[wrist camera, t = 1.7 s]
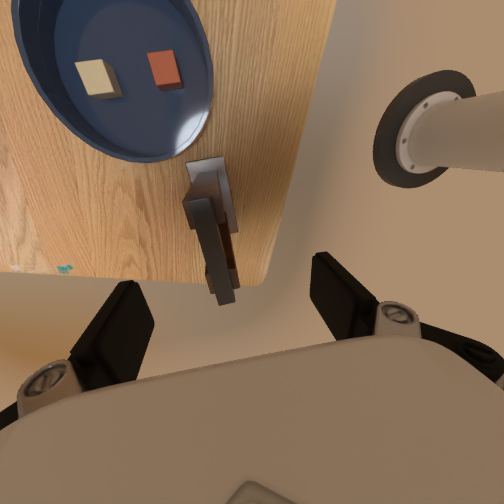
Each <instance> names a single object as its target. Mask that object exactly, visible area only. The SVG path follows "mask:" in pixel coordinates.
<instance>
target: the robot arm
mask: <svg viewBox="0 0 504 504" xmlns="http://www.w3.org/2000/svg"><path fill="white" fill-rule="evenodd" d="M395 151H396V158H397V161H398V163H399V165H400V166H401V168H403V169H404V170H405V171H407V172H410V173H419V174H421V173H426V172H429V171H431V170H433V169H435V168H437V167H438V166H440V167H451V168H462V169H473V170H485V171H495V172H504V91H502V92H496V93H491V94H486V95H481V96H475V97H470V98H465V99H462V98H461V97H460V96H459V95H458V94H456V93H454V92H450V91H444V92H439V93H435V94H432V95H430V96H428V97H426V98H425V99H423V100H421V101H420V102H419V103H418V104H417V105H416V106H415V107H414V108H413V109H412V110H411V111H410V112H409V114H408V115H407V117H406V118H405V120H404V122H403V124H402V126H401V128H400V130H399V133H398V136H397V140H396V150H395ZM310 298H311V300H312V302H313V304H314V305H315V307H316V309H317V310H318V312H319V313H320V315H321V316H322V318H323V320H324V321H325V323H326V325H327V326H328V328H329V329H330V331H331V333H332V334H333V336H334V338H335V339H336V341H334V342H328V343H323V344H317V345H312V346H306V347H301V348H296V349H291V350H285V351H280V352H275V353H269V354H265V355H260V356H254V357H249V358H244V359H239V360H234V361H229V362H224V363H219V364H213V365H208V366H203V367H198V368H193V369H188V370H184V371H178V372H174V373H169V374H164V375H159V376H154V377H149V378H144V379H139V380H136V379H137V376H138V373H139V370H140V366H141V364H142V361H143V358H144V355H145V352H146V349H147V346H148V343H149V340H150V337H151V334H152V331H153V329H154V319H153V317H152V314H151V312H150V310H149V307H148V305H147V302H146V300H145V298H144V295H143V293H142V291H141V288H140V286H139V284H138V283H137V282H134V281H133V280H129V281H122V282H119V283H118V285H117V286H116V287H115V289H114V290H113V292H112V293H111V294H110V296H109V297H108V299H107V300H106V301H105V303H104V304H103V306H102V307H101V309H100V310H99V312H98V313H97V314H96V316H95V317H94V318H93V320H92V321H91V323H90V324H89V325H88V327H87V329H86V330H85V331H84V333H83V334H82V335H81V337H80V338H79V340H78V341H77V343H76V344H75V345H74V347H73V348H72V350H71V351H70V353H71V355H70V357H69V358H68V359H67V360H65V359H63V360H57V361H54V362H51V363H49V364H47V365H45V366H43V367H42V368H40V369H39V370H37V371H35V372H34V373H33V374H32V375H31V376H30V377H28V378H27V379H26V381H25V382H24V383H23V384H22V385H21V387H20V389H19V390H18V394H17V401H16V402H15V403H13V404H12V405H10V406H9V407H7V408H6V409H4V410H3V411H2V412H0V504H504V359H503V358H502V357H501V356H500V355H499V354H498V353H497V352H496V351H495V350H493V349H492V348H490V347H489V346H487V345H485V344H483V343H481V342H479V341H476V340H473V339H470V338H467V337H464V336H461V335H458V334H455V333H452V332H449V331H445V330H443V329H440V328H437V327H434V326H431V325H427V324H425V323H421V322H419V318H418V315H417V314H416V313H415V312H414V311H413V310H412V309H411V308H409V307H407V306H405V305H404V304H401V303H398V302H393V301H384V302H381V303H379V302H378V301H377V300H376V297H375V296H373V295H372V294H371V293H370V292H369V291H368V290H367V289H366V288H365V287H364V286H363V285H362V284H361V283H360V282H359V281H357V279H356V278H354V277H353V276H352V275H351V274H350V273H349V272H348V271H347V270H346V269H345V268H344V267H343V266H342V265H341V264H340V263H339V262H338V261H337V260H336V259H334V258H333V257H332V256H331V255H330V254H329V253H328V252H319V253H316V254H315V256H313V258H312V269H311V284H310Z"/></svg>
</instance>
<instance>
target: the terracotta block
mask: <svg viewBox="0 0 504 504" xmlns="http://www.w3.org/2000/svg"><path fill="white" fill-rule="evenodd" d="M147 56H148V59H149V63H150V66H151V69H152V73H153V76H154V80H155V83H156V85H157V87H158V88H159V89H160V90H161V91H167V90H174V89H180V88H184V87H183V82H182V78H181V74H180V70H179V66H178V62H177V59H176V56H175V54H174V52H173V50H166V51H159V52H151V53H147Z"/></svg>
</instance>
